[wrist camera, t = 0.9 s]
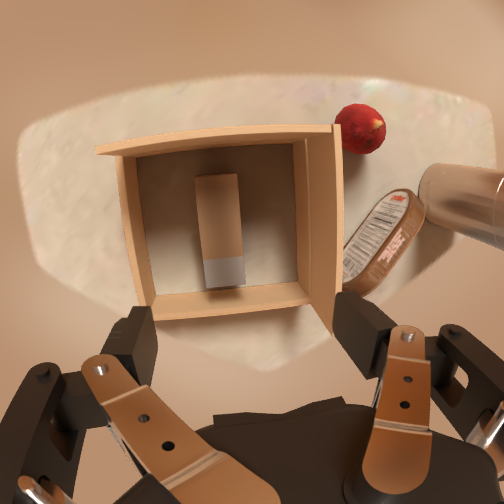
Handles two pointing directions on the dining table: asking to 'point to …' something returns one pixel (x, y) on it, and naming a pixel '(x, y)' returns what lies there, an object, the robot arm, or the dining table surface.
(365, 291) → the tin
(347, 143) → the onion
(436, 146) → the dining table surface
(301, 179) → the carton
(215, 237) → the box
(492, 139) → the dining table surface
